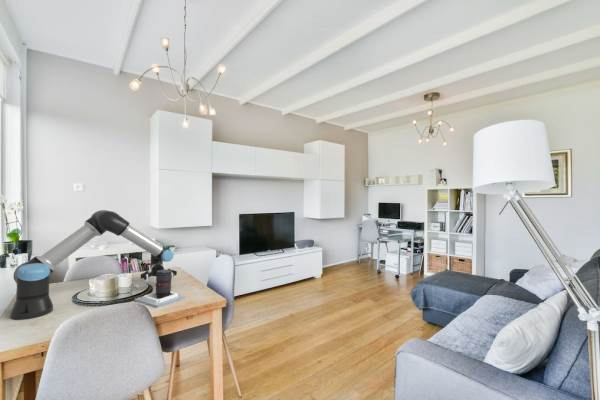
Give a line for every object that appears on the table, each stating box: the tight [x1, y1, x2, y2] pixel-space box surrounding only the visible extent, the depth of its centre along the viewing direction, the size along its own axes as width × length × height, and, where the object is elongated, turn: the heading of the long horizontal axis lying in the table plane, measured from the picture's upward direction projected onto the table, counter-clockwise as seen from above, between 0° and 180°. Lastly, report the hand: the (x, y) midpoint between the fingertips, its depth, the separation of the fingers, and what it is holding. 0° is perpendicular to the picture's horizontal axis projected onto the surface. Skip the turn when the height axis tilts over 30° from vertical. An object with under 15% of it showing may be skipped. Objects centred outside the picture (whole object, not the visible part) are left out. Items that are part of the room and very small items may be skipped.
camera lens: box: [155, 269, 172, 299], centre depth 163 cm, size 8×8×15 cm
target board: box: [134, 291, 186, 309], centre depth 162 cm, size 20×18×3 cm
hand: (160, 277), depth 168 cm, fingers open, 13 cm apart
